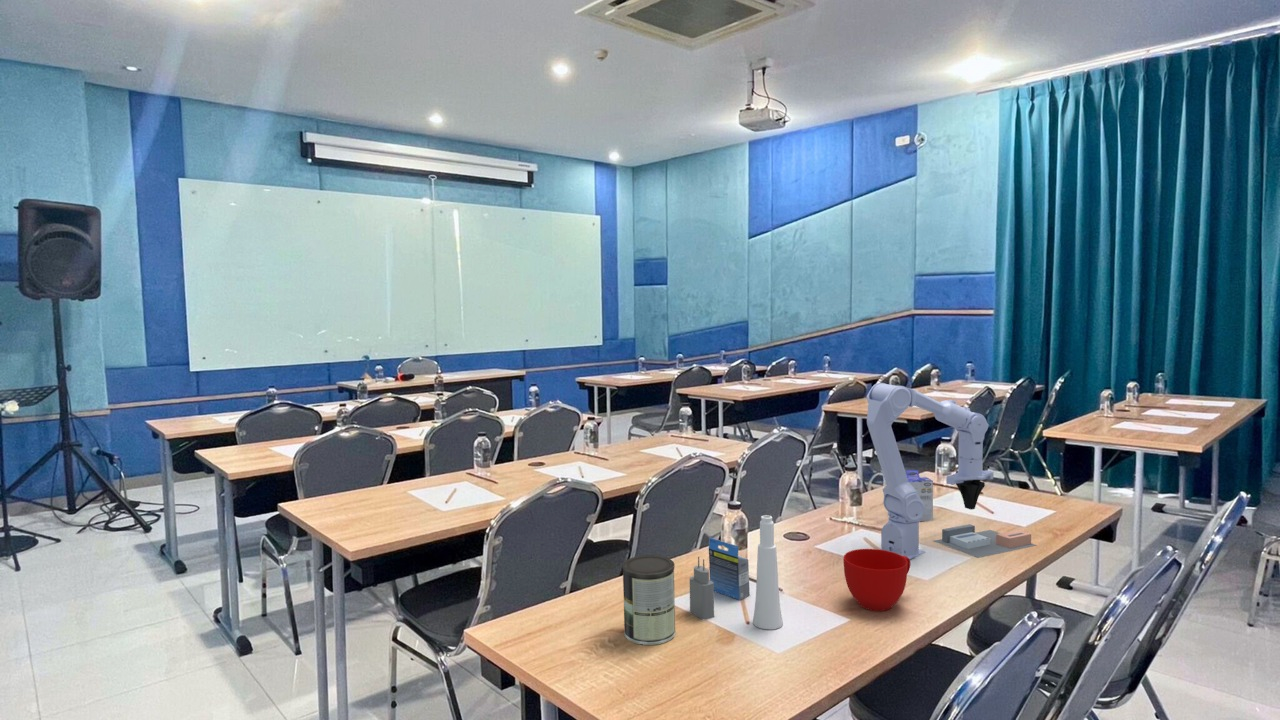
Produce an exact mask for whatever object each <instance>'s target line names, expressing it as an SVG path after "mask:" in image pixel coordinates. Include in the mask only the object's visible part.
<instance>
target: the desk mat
mask: <svg viewBox="0 0 1280 720" xmlns="http://www.w3.org/2000/svg"><path fill="white" fill-rule="evenodd" d="M975 533H976V534H979V535H982V536H985V537H988V538H990V545H985V546H980V547H975V548H970V549H966V548H964V547H961V546H958V545H956V544H953V543H950V542H948V543H946V542H943V541H942V538H940V539H936V540H935V539H934V540H933V543H937V544H939V545H942V546H945V547H948V548H950V549H952V550H955V551H958V552H960V553H963V554H966V555H969V556H970V557H971V556H972V557H974V558H977V559H979V558H985V557H989V556H994V555H999V554H1004V553H1008V552H1012V551H1018V550H1022V549H1027V548H1032V547H1036V546H1038V545H1037V544H1035V543H1032V542H1031V544H1028V545H1023V546H1018V547H1013V548H1007V547H1004V546H1001V545H998V544H996V534H999V533H1000V532H997V531H995V530H991V529H988V530H987V529H986V530H983V531H977V532H976V531H975Z"/></svg>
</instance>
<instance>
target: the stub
mask: <svg viewBox="0 0 1280 720" xmlns="http://www.w3.org/2000/svg"><path fill="white" fill-rule="evenodd" d="M998 533H999V534H996V544H998V545H1001V546H1004V547H1007V548H1013V547H1018V546H1023V545H1028V544H1031V543H1032V533H1028V532H1026V531H1023V530H1020V529H1016V530H1010V531H1005V532H998Z"/></svg>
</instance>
